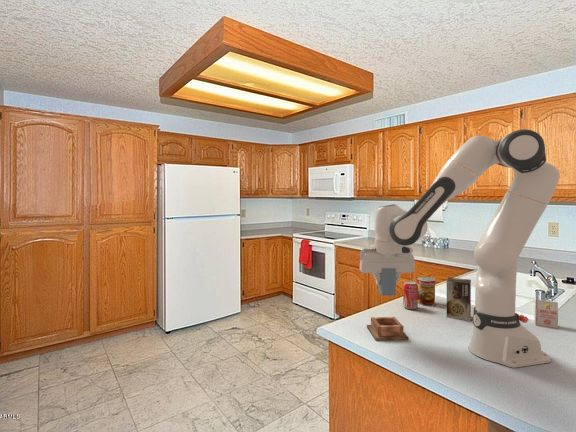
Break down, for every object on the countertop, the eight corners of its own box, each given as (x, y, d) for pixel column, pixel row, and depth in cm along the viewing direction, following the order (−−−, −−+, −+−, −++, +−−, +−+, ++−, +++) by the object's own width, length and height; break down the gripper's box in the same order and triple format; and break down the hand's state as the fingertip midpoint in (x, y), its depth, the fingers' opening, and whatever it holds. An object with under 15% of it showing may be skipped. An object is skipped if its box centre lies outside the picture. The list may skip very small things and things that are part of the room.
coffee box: (471, 316, 138) (471, 279, 138) (470, 321, 133) (470, 282, 132) (447, 312, 143) (448, 276, 142) (445, 317, 138) (446, 280, 137)
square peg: (391, 291, 124) (391, 265, 124) (395, 295, 119) (395, 268, 119) (378, 291, 124) (378, 266, 124) (382, 295, 119) (382, 269, 119)
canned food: (419, 305, 153) (419, 280, 152) (415, 300, 161) (415, 276, 160) (436, 306, 152) (437, 281, 151) (432, 301, 159) (432, 277, 159)
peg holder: (396, 326, 129) (396, 315, 128) (408, 339, 117) (408, 327, 116) (366, 327, 129) (366, 316, 128) (375, 340, 117) (375, 328, 116)
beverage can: (405, 304, 154) (406, 280, 154) (419, 307, 150) (419, 282, 150) (401, 308, 150) (401, 282, 149) (415, 311, 146) (415, 285, 145)
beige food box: (534, 322, 131) (535, 298, 130) (555, 325, 128) (556, 301, 127) (535, 325, 128) (536, 300, 127) (557, 329, 124) (558, 303, 124)
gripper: (361, 249, 117) (361, 287, 118) (417, 248, 118) (416, 285, 119) (357, 247, 124) (357, 282, 124) (410, 246, 124) (409, 281, 125)
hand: (386, 284), depth 122 cm, fingers closed on square peg, 5 cm apart
